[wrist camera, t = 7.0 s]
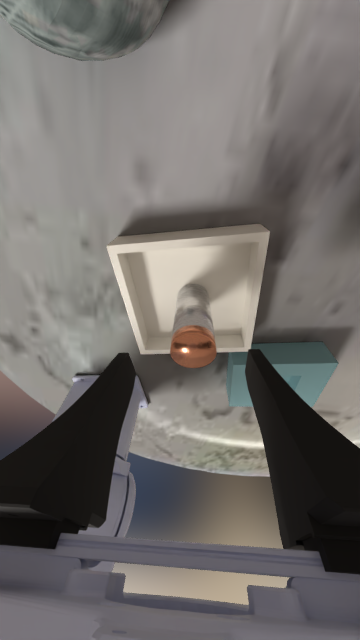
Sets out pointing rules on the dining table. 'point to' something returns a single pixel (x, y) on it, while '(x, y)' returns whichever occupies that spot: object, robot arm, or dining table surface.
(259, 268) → the tray
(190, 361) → the copper-capped cylinder
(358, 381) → the dining table surface
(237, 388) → the teal socket block
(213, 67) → the dining table surface
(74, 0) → the grey green streaked cylinder
